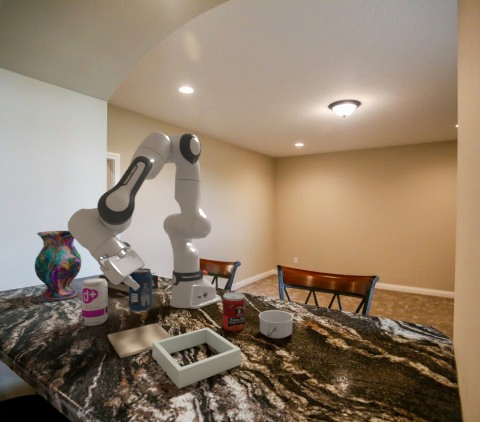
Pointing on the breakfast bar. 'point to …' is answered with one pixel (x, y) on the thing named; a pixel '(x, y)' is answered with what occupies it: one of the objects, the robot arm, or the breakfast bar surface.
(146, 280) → the soda can
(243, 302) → the canned food
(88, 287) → the supplement can
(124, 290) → the decorative book
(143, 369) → the breakfast bar surface
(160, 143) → the robot arm
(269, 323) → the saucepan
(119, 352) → the board
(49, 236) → the vase
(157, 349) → the rectangular frame
